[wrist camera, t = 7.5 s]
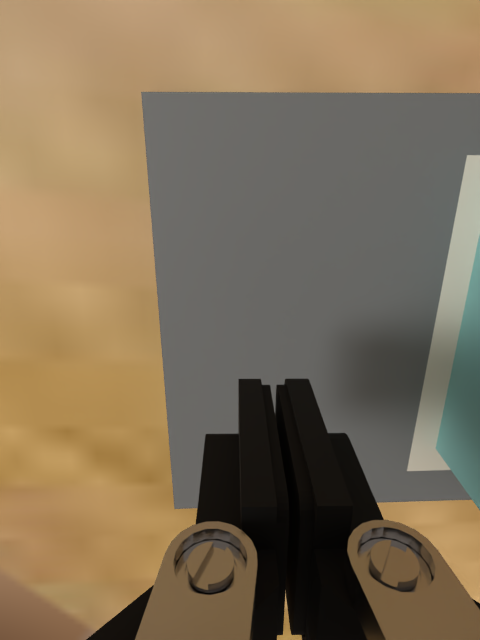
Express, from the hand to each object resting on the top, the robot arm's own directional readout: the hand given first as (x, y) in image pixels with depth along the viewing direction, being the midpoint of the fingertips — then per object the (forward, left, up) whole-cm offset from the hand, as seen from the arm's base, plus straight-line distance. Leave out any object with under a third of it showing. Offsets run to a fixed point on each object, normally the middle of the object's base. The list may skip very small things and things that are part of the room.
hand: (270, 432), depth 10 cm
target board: (+1, -6, -5) cm, 8 cm away
